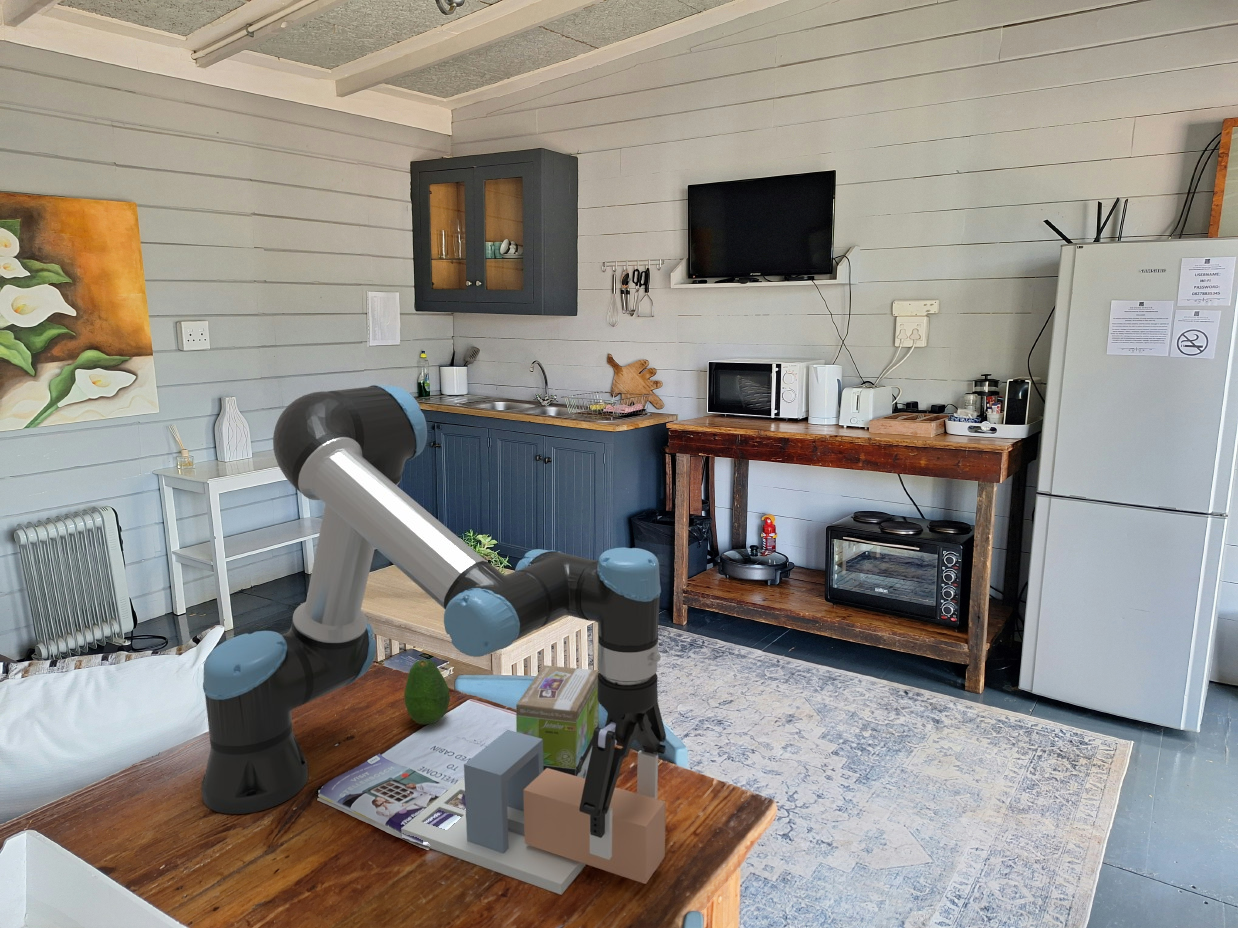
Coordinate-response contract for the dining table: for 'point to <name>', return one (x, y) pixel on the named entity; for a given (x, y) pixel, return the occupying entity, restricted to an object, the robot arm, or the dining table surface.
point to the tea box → (561, 716)
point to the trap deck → (497, 816)
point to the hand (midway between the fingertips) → (625, 824)
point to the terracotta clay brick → (568, 830)
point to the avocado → (426, 693)
